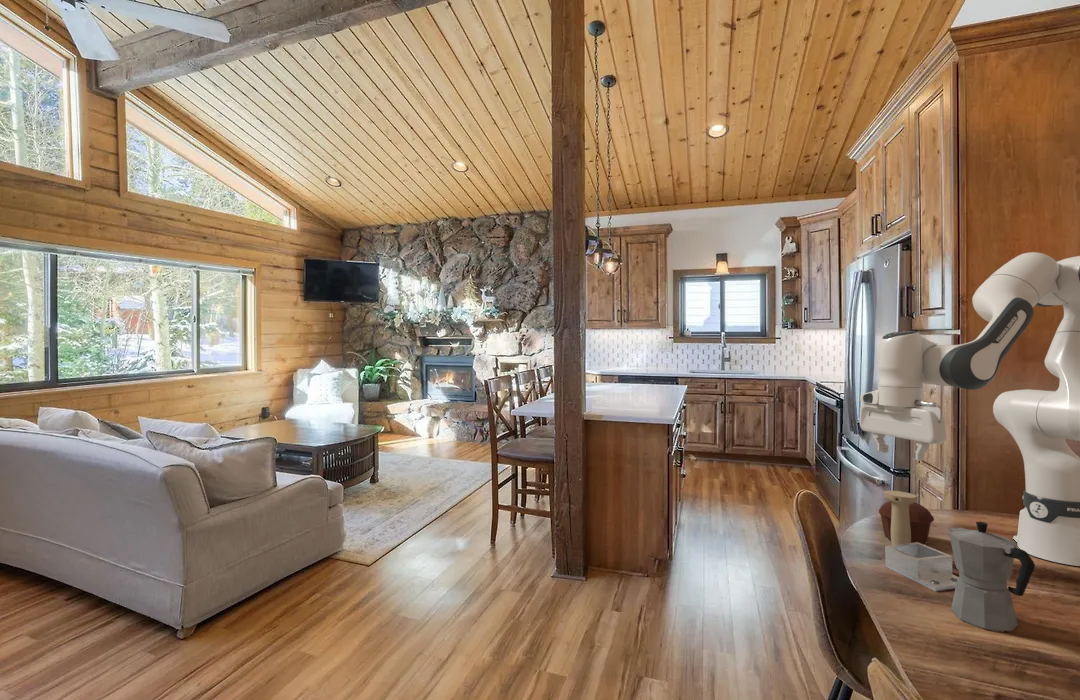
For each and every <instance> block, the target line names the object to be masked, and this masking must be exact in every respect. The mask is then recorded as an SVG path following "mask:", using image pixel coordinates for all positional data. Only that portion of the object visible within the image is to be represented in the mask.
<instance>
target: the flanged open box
mask: <svg viewBox="0 0 1080 700" xmlns="http://www.w3.org/2000/svg"><path fill="white" fill-rule="evenodd" d="M884 552H885V553H884V555H885V556H884V557H885V558H884V559H885V562H884V565H885V568H887V569H889V570H891V571H893V572H895V573H898V574H899V575H901V576H904V577H905V578H908V579H910V580H911V581H914V582H915V583H917V584H919V585H921V586H924V587H926V588H927V589H929V590H932V591H934V592H942V591H949V590H955V588H956V583H957V579H958V578H959V576H957V575H954V574H953V556H952V555H951V554H949V553H946V552H943V551H940V550H938V549H936V548H933V547H930V546H929V545H926V544H925V545H924V544H921V543H919V542H915V543H907V544H898V545H892V544H890V545H885V546H884Z"/></svg>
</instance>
